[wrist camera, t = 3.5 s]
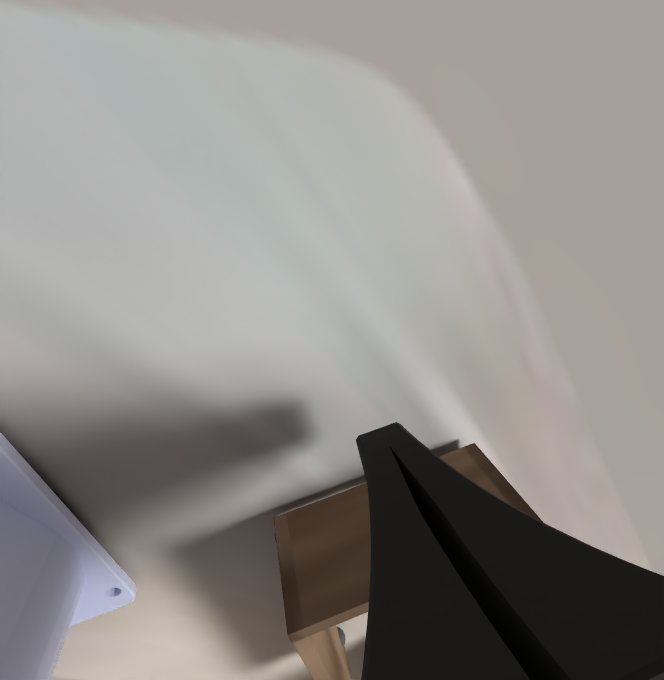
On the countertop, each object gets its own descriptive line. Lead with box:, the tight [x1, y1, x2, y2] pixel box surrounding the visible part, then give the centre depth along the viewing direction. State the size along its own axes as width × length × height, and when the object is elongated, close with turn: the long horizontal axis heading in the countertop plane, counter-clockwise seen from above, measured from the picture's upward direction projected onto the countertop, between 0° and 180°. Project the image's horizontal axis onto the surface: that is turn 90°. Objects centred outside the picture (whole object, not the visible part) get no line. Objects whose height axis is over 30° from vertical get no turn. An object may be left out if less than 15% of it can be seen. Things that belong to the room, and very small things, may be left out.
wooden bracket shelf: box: [274, 443, 543, 680], centre depth 16 cm, size 11×9×4 cm
